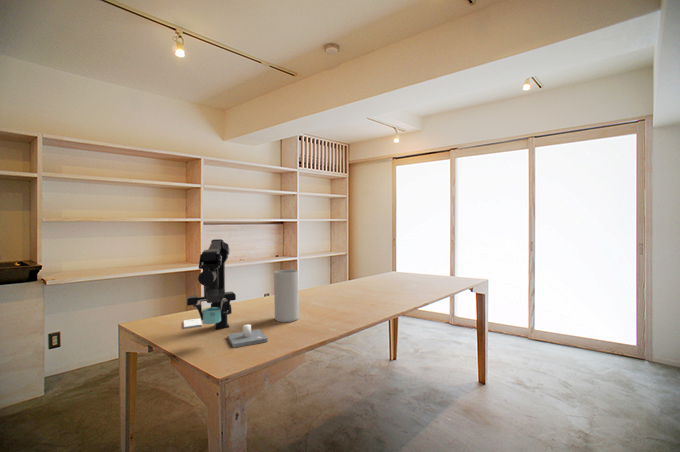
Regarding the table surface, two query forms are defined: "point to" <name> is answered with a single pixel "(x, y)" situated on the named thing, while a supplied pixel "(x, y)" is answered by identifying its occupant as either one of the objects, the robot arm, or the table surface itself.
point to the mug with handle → (211, 315)
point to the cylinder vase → (286, 295)
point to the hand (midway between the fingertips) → (211, 318)
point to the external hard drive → (192, 323)
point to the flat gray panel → (246, 337)
